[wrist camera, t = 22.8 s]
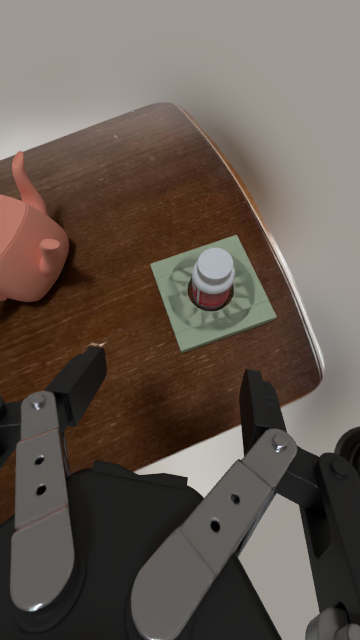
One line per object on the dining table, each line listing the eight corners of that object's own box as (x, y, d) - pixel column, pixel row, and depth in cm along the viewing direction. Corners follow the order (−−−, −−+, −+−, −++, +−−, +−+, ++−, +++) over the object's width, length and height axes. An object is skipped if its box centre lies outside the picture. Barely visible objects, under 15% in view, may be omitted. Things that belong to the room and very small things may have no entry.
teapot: (64, 210, 49) (17, 144, 36) (97, 285, 44) (55, 240, 31) (-22, 248, 48) (-105, 193, 34) (1, 330, 43) (-86, 302, 29)
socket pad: (272, 321, 41) (277, 316, 38) (181, 353, 40) (180, 351, 38) (234, 242, 45) (236, 234, 43) (152, 270, 44) (150, 264, 42)
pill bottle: (235, 295, 42) (249, 263, 32) (209, 318, 41) (215, 293, 31) (210, 271, 44) (215, 233, 33) (184, 293, 43) (182, 261, 32)
